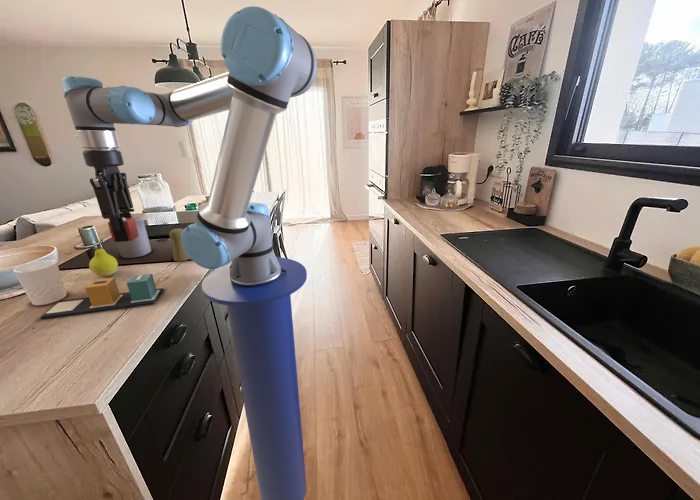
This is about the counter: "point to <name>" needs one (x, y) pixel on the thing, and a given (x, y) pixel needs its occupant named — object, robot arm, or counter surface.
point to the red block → (127, 229)
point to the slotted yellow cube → (103, 292)
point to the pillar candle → (136, 242)
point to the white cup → (41, 281)
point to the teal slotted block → (141, 287)
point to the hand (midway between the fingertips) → (126, 237)
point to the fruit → (103, 263)
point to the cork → (178, 245)
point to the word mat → (86, 307)
